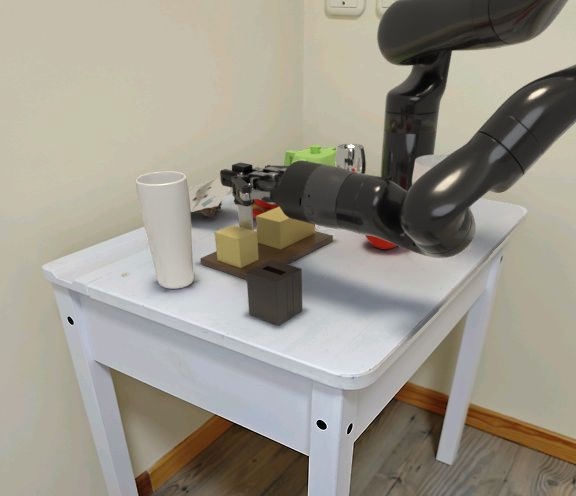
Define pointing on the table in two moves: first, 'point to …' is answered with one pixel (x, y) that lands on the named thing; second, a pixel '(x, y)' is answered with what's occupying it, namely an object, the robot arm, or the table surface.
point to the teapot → (312, 155)
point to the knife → (243, 211)
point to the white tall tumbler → (167, 225)
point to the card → (207, 196)
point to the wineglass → (351, 157)
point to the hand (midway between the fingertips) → (228, 175)
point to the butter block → (281, 229)
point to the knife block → (274, 291)
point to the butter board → (271, 254)
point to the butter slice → (236, 246)
